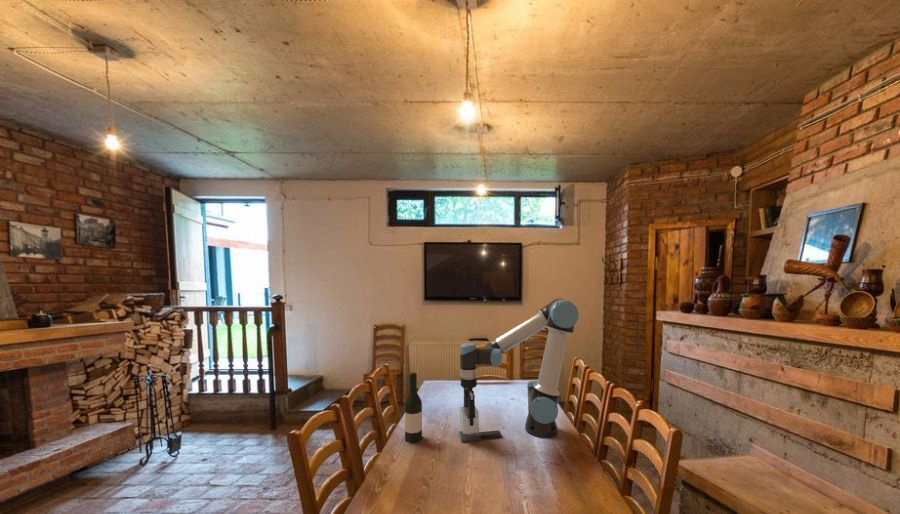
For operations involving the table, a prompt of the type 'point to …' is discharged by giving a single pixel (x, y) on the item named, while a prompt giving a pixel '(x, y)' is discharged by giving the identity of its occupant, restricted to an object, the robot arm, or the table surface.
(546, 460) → the table surface
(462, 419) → the grey rectangular block
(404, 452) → the table surface
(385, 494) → the table surface
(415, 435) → the wine bottle
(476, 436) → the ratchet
